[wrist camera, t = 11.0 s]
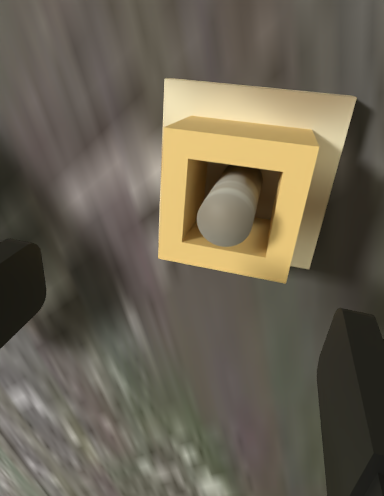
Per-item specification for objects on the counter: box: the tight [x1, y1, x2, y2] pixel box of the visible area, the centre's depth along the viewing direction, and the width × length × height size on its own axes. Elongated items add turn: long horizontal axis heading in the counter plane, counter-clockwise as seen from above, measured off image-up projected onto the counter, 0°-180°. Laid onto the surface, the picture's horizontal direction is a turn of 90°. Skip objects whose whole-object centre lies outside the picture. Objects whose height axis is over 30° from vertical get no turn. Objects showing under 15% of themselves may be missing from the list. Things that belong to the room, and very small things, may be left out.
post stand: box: [159, 78, 357, 269], centre depth 18 cm, size 10×10×8 cm
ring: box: [158, 116, 319, 283], centre depth 18 cm, size 7×7×5 cm
